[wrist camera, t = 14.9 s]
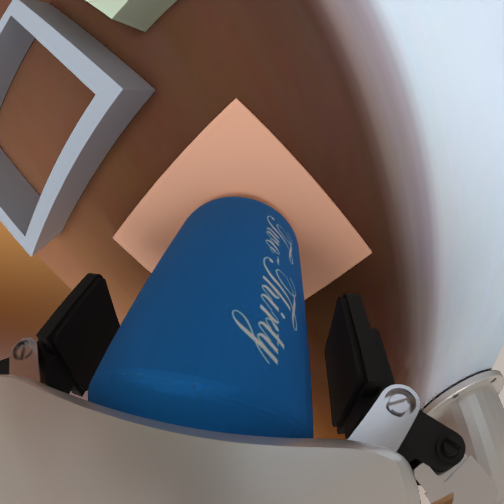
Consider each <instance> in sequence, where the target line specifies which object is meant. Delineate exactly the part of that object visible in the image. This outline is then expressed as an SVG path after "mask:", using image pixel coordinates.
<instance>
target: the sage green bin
mask: <svg viewBox="0 0 504 504" xmlns="http://www.w3.org/2000/svg"><path fill="white" fill-rule="evenodd" d="M86 1H87V2H89V3H90V4H91V5H93V6H94V7H96V8H97V9H99V10H100V11H102V12H103V13H104V14H106V15H107V16H108V17H110V18H111V19H113V20H116V21H119V22H121V23H124V24H126V25H129V26H131V27H134V28H136V29H139V30H141V31H143V32H146V31H147V30H148V29H149V28H150V27H151V26H152V25H153V23H154V22H155V21H156V20H157V19H158V18H159V17H160V16H161V15H162V14H163V13H164V12H165V11H166V10H168V9H169V8H170V7H171V6H172V5H173V4H174V3H175V2H176V1H177V0H86Z"/></svg>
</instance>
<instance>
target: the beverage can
mask: <svg viewBox="0 0 504 504" xmlns="http://www.w3.org/2000/svg"><path fill="white" fill-rule="evenodd" d="M88 401H89V402H92V403H95V404H98V405H101V406H104V407H107V408H111V409H114V410H117V411H121V412H124V413H128V414H131V415H135V416H139V417H143V418H147V419H151V420H155V421H160V422H164V423H169V424H174V425H179V426H184V427H190V428H196V429H202V430H208V431H215V432H222V433H231V434H240V435H251V436H265V437H280V438H313V411H312V392H311V375H310V360H309V347H308V334H307V323H306V311H305V301H304V291H303V281H302V272H301V263H300V254H299V246H298V242H297V238H296V235H295V233H294V231H293V229H292V227H291V226H290V224H289V223H288V222H287V221H286V219H285V218H284V217H283V216H282V215H281V214H280V213H279V212H277V211H276V210H275V209H273V208H272V207H270V206H268V205H267V204H265V203H262V202H260V201H257V200H254V199H250V198H246V197H224V198H219V199H215V200H212V201H210V202H207V203H205V204H203V205H202V206H200V207H199V208H197V209H196V210H195V211H194V212H192V213H191V215H190V216H189V217H188V218H187V219H186V221H185V222H184V224H183V225H182V227H181V228H180V230H179V231H178V233H177V234H176V236H175V237H174V239H173V240H172V242H171V243H170V245H169V246H168V248H167V250H166V251H165V253H164V254H163V256H162V257H161V259H160V260H159V262H158V264H157V265H156V267H155V268H154V270H153V272H152V273H151V275H150V276H149V278H148V280H147V281H146V283H145V285H144V286H143V288H142V290H141V291H140V293H139V295H138V296H137V298H136V300H135V301H134V303H133V305H132V306H131V308H130V310H129V312H128V313H127V315H126V317H125V318H124V320H123V322H122V324H121V326H120V327H119V329H118V331H117V333H116V334H115V336H114V338H113V340H112V342H111V344H110V345H109V347H108V349H107V351H106V353H105V355H104V357H103V358H102V360H101V362H100V364H99V366H98V368H97V370H96V372H95V374H94V376H93V378H92V380H91V382H90V384H89V388H88Z"/></svg>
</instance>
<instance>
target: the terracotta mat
mask: <svg viewBox="0 0 504 504" xmlns="http://www.w3.org/2000/svg"><path fill="white" fill-rule="evenodd" d="M224 197H246V198H250V199H254V200H257V201H260V202H262V203H265V204H267V205H268V206H270V207H272V208H273V209H275V210H276V211H277V212H279V213H280V214H281V215H282V216H283V217H284V218H285V219H286V221H287V222H288V223H289V224H290V226H291V227H292V229H293V231H294V233H295V235H296V238H297V242H298V246H299V254H300V263H301V272H302V281H303V291H304V300H305V299H307V298H308V297H310V296H311V295H313V294H314V293H316V292H317V291H319V290H320V289H322V288H323V287H325V286H326V285H328V284H329V283H331V282H332V281H333V280H335V279H336V278H338V277H339V276H341V275H342V274H343V273H345V272H346V271H348V270H349V269H351V268H352V267H353V266H355V265H356V264H357V263H359V262H360V261H362V260H363V259H364V258H366V257H367V256H369V255H370V254H371V253H372V251H371V249H370V248H369V247H368V245H367V244H366V243H365V241H364V240H363V239H362V237H361V236H360V235H359V233H358V232H357V231H356V230H355V228H354V227H353V226H352V224H351V223H350V222H349V221H348V219H347V218H346V217H345V216H344V214H343V213H342V212H341V211H340V209H339V208H338V207H337V206H336V205H335V203H334V202H333V201H332V200H331V198H330V197H329V196H328V195H327V194H326V193H325V191H324V190H323V189H322V188H321V187H320V185H319V184H318V183H317V182H316V181H315V180H314V178H313V177H312V176H311V175H310V174H309V173H308V172H307V170H306V169H305V168H304V167H303V166H302V165H301V164H300V163H299V162H298V160H297V159H296V158H295V157H294V156H293V155H292V154H291V153H290V152H289V151H288V149H287V148H286V147H285V146H284V145H283V144H282V143H281V142H280V141H279V140H278V139H277V138H276V137H275V136H274V135H273V134H272V133H271V132H270V130H269V129H268V128H267V127H266V126H265V125H264V124H263V123H262V122H261V121H260V120H259V119H258V118H257V117H256V116H255V115H254V114H253V113H252V112H251V111H250V110H249V109H248V108H247V107H246V106H245V105H243V104H242V103H241V102H240V101H239V100H238V99H237V98H236V99H235V100H234V101H233V102H232V103H230V104H229V105H228V106H227V107H226V108H225V109H224V110H223V111H222V112H221V113H220V114H219V115H218V116H217V117H216V118H215V119H214V120H213V121H212V122H211V123H210V124H209V125H208V126H207V127H206V128H205V129H204V130H203V131H202V132H201V133H200V134H199V135H198V136H197V137H196V138H195V139H194V140H193V141H192V143H191V144H190V145H189V146H188V147H187V148H186V149H185V150H184V151H183V152H182V153H181V154H180V156H179V157H178V158H177V159H176V160H175V161H174V162H173V163H172V164H171V166H170V167H169V168H168V169H167V170H166V171H165V172H164V174H163V175H162V176H161V177H160V178H159V179H158V181H157V182H156V183H155V184H154V185H153V187H152V188H151V189H150V190H149V191H148V193H147V194H146V195H145V196H144V197H143V199H142V200H141V201H140V202H139V204H138V205H137V206H136V207H135V209H134V210H133V211H132V213H131V214H130V215H129V216H128V218H127V219H126V220H125V222H124V223H123V224H122V226H121V227H120V228H119V230H118V231H117V232H116V234H115V235H114V236H113V239H114V240H115V241H117V242H118V243H119V244H120V245H121V246H122V247H123V248H124V249H125V250H126V251H127V252H128V253H129V254H131V255H132V256H133V257H134V258H135V259H136V260H137V261H138V262H139V263H140V264H142V265H143V266H144V267H145V268H146V269H147V270H148V271H149V272H151V273H152V272H153V270H154V268H155V267H156V265H157V264H158V262H159V260H160V259H161V257H162V256H163V254H164V253H165V251H166V250H167V248H168V246H169V245H170V243H171V242H172V240H173V239H174V237H175V236H176V234H177V233H178V231H179V230H180V228H181V227H182V225H183V224H184V222H185V221H186V219H187V218H188V217H189V216H190V215H191V213H192V212H194V211H195V210H196V209H197V208H199V207H200V206H202V205H203V204H205V203H207V202H210V201H212V200H215V199H219V198H224Z"/></svg>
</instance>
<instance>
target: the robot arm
mask: <svg viewBox="0 0 504 504" xmlns="http://www.w3.org/2000/svg"><path fill="white" fill-rule="evenodd" d="M119 327H120V324H119V322H118V319H117V316H116V313H115V310H114V307H113V303H112V300H111V297H110V294H109V290H108V287H107V284H106V281H105V279H104V278H103V277H102V276H101V275H100V274H92V273H89V274H87V275H86V276H85V277H84V278H83V279H82V280H81V282H80V283H79V284H78V285H77V286H76V287H75V288H74V290H73V291H72V292H71V293H70V294H69V295H68V297H67V298H66V299H65V300H64V302H62V304H61V305H60V306H59V307H58V308H57V310H56V311H55V312H54V313H53V315H52V316H51V317H50V318H49V320H48V321H47V322H46V323H45V325H44V326H43V327H42V328H41V330H40V331H39V332H38V334H37V337H38V339H39V341H38V342H36V341H35V340H34V339H32V338H29V337H27V338H22V339H20V340H18V341H17V342H16V343H15V344H14V345H13V346H12V348H11V350H10V357H9V358H6V359H4V360H1V361H0V504H421V500H420V495H419V490H418V486H417V485H421V486H422V487H423V488H424V490H425V491H426V493H425V495H426V496H427V497H428V499H429V501H430V503H431V504H504V408H503V406H502V403H501V401H500V399H499V396H498V394H499V393H500V391H501V390H502V388H503V385H504V378H503V376H502V374H501V372H500V371H497V370H490V371H485V372H482V373H479V374H476V375H474V376H472V377H470V378H468V379H466V380H464V381H462V382H460V383H458V384H457V385H455V386H453V387H452V388H450V389H449V390H447V391H446V392H444V393H443V394H441V395H440V396H439V397H437V398H436V399H435V400H433V401H432V402H431V403H430V404H429V405H428V406H427V407H426V408H425V409H424V410H423V411H421V410H419V409H420V399H419V397H418V395H417V394H416V392H415V391H414V390H412V389H411V388H410V387H408V386H405V385H400V384H395V383H394V379H393V376H392V372H391V369H390V366H389V362H388V359H387V356H386V353H385V350H384V346H383V343H382V340H381V337H380V334H379V332H378V330H377V329H376V328H371V327H370V324H369V321H368V318H367V315H366V312H365V309H364V306H363V303H362V300H361V297H360V295H359V294H348V293H345V294H344V295H343V297H339V298H338V300H337V304H336V308H335V312H334V316H333V320H332V324H331V328H330V331H329V335H328V339H327V342H326V346H325V360H326V368H327V377H328V386H329V396H330V406H331V417H332V425H333V427H337V432H338V434H345V437H346V439H347V440H341V439H314V438H280V437H265V436H251V435H240V434H231V433H222V432H215V431H208V430H202V429H196V428H190V427H184V426H179V425H174V424H169V423H164V422H160V421H155V420H151V419H147V418H143V417H139V416H135V415H131V414H128V413H124V412H121V411H117V410H114V409H111V408H107V407H104V406H101V405H98V404H95V403H92V402H89V401H86V400H83V399H81V398H78V397H75V396H72V395H70V394H69V393H70V391H72V393H74V394H76V395H79V396H83V394H84V392H85V391H87V390H88V388H89V384H90V382H91V380H92V378H93V376H94V374H95V372H96V370H97V368H98V366H99V364H100V362H101V360H102V358H103V357H104V355H105V353H106V351H107V349H108V347H109V345H110V344H111V342H112V340H113V338H114V336H115V334H116V333H117V331H118V329H119Z"/></svg>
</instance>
